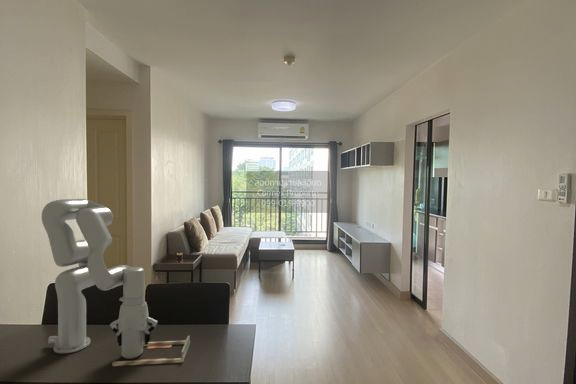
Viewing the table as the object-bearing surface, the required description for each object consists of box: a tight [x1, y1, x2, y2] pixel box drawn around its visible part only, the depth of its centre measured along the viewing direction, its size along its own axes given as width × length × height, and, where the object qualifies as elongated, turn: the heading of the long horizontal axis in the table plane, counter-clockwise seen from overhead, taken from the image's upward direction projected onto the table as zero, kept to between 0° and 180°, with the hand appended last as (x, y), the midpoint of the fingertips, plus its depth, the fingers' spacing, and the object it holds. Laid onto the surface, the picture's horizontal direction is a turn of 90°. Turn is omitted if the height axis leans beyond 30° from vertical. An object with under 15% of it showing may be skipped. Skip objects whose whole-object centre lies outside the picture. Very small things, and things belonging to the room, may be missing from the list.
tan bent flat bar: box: [111, 335, 191, 367], centre depth 127 cm, size 25×15×4 cm, turn 97°
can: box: [121, 328, 144, 360], centre depth 126 cm, size 8×8×12 cm
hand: (134, 343), depth 126 cm, fingers open, 9 cm apart
